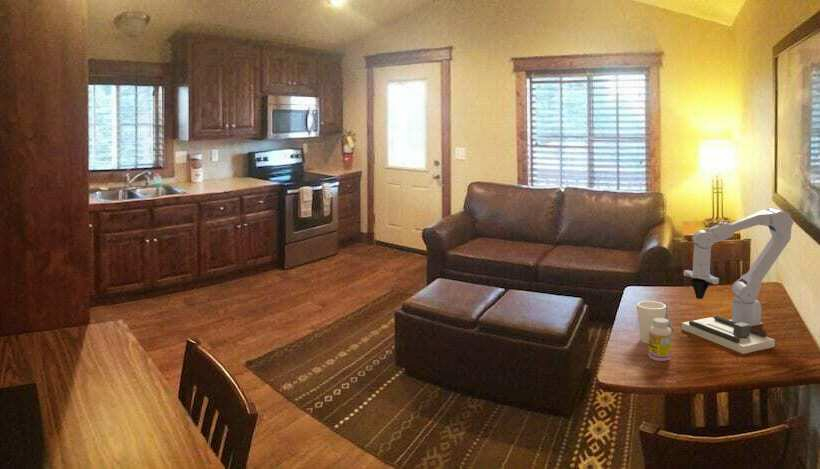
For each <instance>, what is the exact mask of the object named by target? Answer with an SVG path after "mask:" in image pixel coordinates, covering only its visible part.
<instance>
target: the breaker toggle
mask: <svg viewBox="0 0 820 469" xmlns="http://www.w3.org/2000/svg"><path fill="white" fill-rule="evenodd" d="M750 328H751V327H750V324H747V323H744V322H741V323H736V324H734V330H733V335H734V336H737V337H740V338H743V337H747V336H750Z"/></svg>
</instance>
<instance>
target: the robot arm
mask: <svg viewBox="0 0 820 469" xmlns="http://www.w3.org/2000/svg"><path fill="white" fill-rule="evenodd" d="M793 224H794V221H793V218H792V217H791V215H790V213H789V212H787V211H783V210H780V209H778V208H776V207H770V208H766V209H762V210H760V211H758V212H756V213H752V214H751V215H748V216H747V217H743V218H741V219H739V220H737V221H733V222H731V223H729V222H726V221H725V222H723V221H720V222H718V223H717V224H715V225H713V226H711V227H705V230H703V229H700V230H697V231H695V233H694V234H693V235H692V236H691V240H692V242H693V244H694V245H693V254H692V255H693V258H692V270H689V269H685V270H683V276H684V277H690V278H692V279H690V281H689V282H690V284H691V285H692V288H693V290H694V294H695V298H696V300H703V299H704V297H705V294H706V291H707V290H708V288H709V286H710V285H711V284H712V285H719V283H720V278H719V277H715V276H714V275H712V274H711V257H712V255H711V254H712V253H711V252H712V246H713V245H714V244H716V243H718V242H722V241H724V240H727V239H729V238H733V236H734V234H735V233H736V232H740V231H743V230H745V229H748V228H753V227H755V226H765V227H768V228H769V232H770V234H771V238H770V239H769V240H768V242H767V243H766V245H765V246H764V248H763V250H762V251H761V252H760V254H759V255H758V257H757V258H756V259H755V261H754V262H753V263H752V266H750V268H749V270H748V271H747V272H746V273H745V274H743V275H741V276H740V278H739V279H737V280H736V281H734V282H733V284H732V286H731V291H732V293H733V294H734V296H733V297H732V310H731V311H732V312H731V319H729V320H730V321H733V322H736V323H741V322H744V323H747V324H750V328H752V327H754V326H759V325H763V322H761V320H762V319H761V318H762V303H761V302H760V301H759V300H758V297H759V293H760V290H761V289H762V281H763V279H764V278H765V277H766V275H767V274H768V272H769V271H770V270H771V268H772V266H773V265H774V264H775V262H776V261H777V260H778V258H779V257H780V255H781V254H782V253H783V251H784V249H785V248H786V247H787V245H788V243H789V242H790V241H791V238H792V226H793Z"/></svg>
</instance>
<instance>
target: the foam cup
mask: <svg viewBox="0 0 820 469" xmlns="http://www.w3.org/2000/svg"><path fill="white" fill-rule="evenodd" d="M660 302H661V301H660ZM660 302H659V301H654V300H653V301H652V300H643V301H639V302H637V303H636V312H637V318H638V319H637V320H638V329H639V340H640V342H642V343H644V344H648V345H649V329H650V327H651V326H653V325H654V324H653V319H654V318H665V314H666V305H665V304H663V303H660Z"/></svg>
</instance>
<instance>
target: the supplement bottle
mask: <svg viewBox="0 0 820 469" xmlns="http://www.w3.org/2000/svg"><path fill="white" fill-rule="evenodd" d="M653 324H654V325H653V326H651V327H650V329H649V344H648V358H650V359H651V360H653V361H658V362H666V361H669V360H670V359H671V354H672V334H673V331H671V329H670V328H669V327H668V325H669V320H668V319H665V318H654V319H653Z"/></svg>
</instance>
